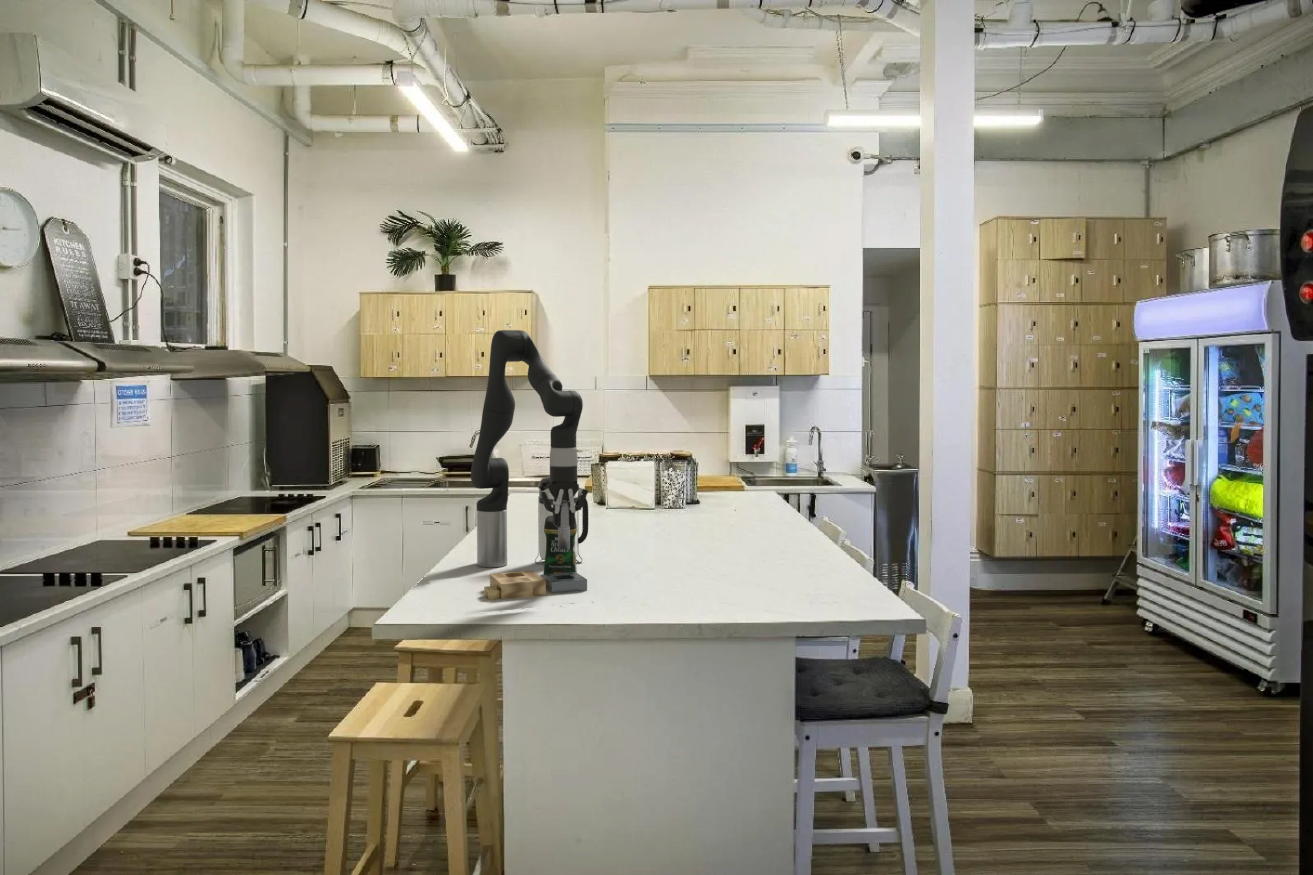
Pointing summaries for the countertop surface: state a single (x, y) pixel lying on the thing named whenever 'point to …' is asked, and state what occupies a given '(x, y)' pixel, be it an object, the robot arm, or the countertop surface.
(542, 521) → the coffee press
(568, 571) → the coffee jar
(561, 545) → the cylinder
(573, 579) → the grey square holed block
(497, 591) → the block
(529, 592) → the socket block
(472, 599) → the countertop surface
